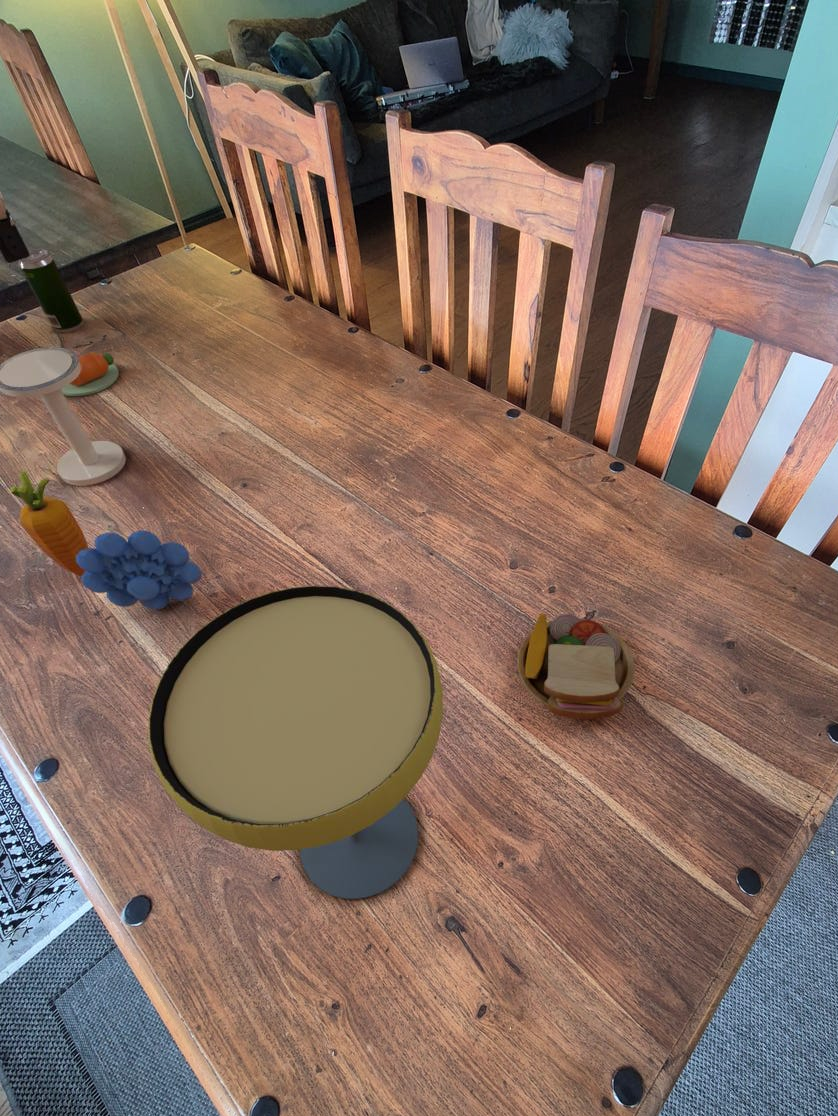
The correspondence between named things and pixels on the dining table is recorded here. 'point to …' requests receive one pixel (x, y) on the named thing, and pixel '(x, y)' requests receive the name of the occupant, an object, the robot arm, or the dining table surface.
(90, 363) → the carrot
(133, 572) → the blue knobbed flower
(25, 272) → the beer can
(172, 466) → the dining table surface
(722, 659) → the dining table surface
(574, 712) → the toy sandwich meal
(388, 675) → the cocktail glass
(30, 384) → the cake stand
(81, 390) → the mat
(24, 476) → the carrot
